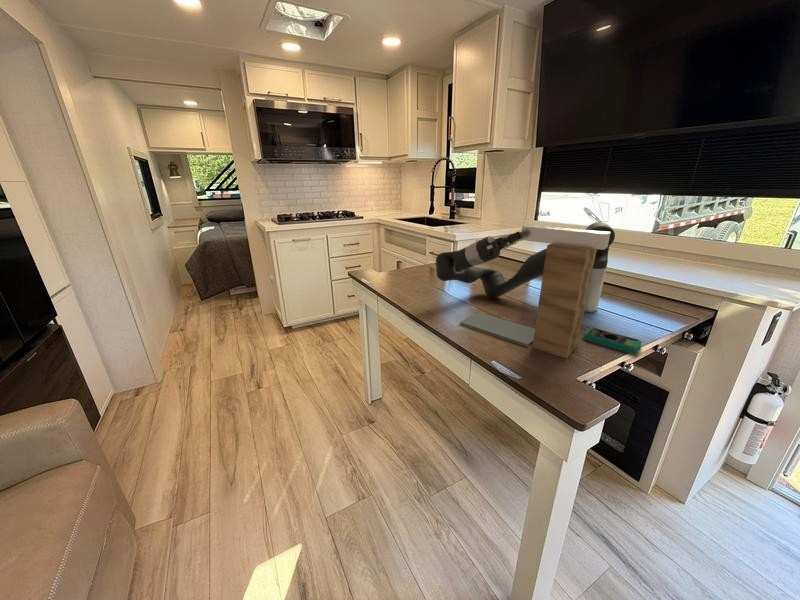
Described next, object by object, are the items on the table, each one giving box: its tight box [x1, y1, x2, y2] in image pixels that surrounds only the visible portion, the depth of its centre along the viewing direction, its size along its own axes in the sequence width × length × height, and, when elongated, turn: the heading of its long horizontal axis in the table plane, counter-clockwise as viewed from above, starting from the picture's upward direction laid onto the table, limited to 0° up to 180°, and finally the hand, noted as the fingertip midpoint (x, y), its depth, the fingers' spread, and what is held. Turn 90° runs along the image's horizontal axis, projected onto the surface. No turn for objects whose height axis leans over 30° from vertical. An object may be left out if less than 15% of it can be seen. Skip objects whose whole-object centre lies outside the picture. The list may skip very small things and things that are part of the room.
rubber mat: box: [459, 312, 535, 348], centre depth 113 cm, size 12×25×1 cm, turn 46°
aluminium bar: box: [521, 224, 611, 250], centre depth 91 cm, size 4×22×4 cm, turn 46°
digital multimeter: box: [583, 327, 642, 356], centre depth 102 cm, size 7×15×3 cm, turn 45°
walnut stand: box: [531, 243, 597, 359], centre depth 95 cm, size 10×10×32 cm
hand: (527, 232), depth 97 cm, fingers open, 8 cm apart
